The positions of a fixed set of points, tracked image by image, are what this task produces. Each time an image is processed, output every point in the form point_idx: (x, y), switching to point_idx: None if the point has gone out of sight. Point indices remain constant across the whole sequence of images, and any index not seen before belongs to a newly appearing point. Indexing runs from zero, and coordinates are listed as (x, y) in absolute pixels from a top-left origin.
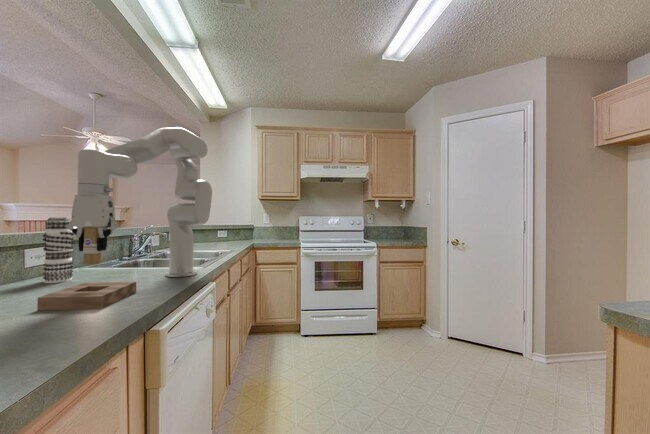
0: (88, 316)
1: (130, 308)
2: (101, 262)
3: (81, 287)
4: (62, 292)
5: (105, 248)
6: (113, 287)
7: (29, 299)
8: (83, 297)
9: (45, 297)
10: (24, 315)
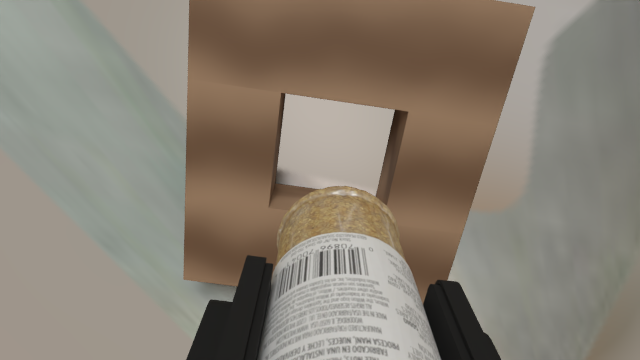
0: None
1: (528, 292)
2: (398, 228)
3: (257, 117)
4: (228, 212)
5: (458, 297)
6: (435, 156)
7: (8, 55)
8: None
9: (215, 283)
10: (198, 293)
